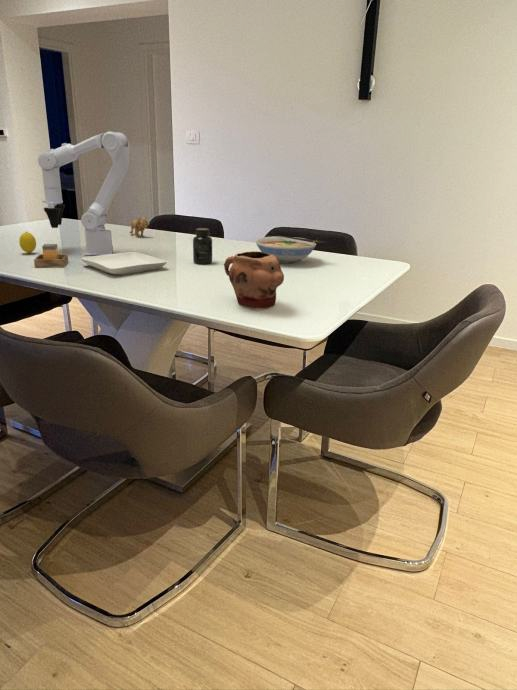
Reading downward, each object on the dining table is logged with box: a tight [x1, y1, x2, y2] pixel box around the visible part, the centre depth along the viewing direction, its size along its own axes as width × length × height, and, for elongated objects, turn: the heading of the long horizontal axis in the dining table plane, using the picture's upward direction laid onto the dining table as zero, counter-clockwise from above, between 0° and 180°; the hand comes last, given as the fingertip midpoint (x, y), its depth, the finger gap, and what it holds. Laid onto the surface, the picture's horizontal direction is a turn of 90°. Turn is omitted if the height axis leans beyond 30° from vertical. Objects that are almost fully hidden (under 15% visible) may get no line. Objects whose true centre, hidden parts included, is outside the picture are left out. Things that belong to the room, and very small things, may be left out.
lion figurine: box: [129, 216, 150, 239], centre depth 229 cm, size 15×5×9 cm, turn 43°
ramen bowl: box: [254, 234, 327, 264], centre depth 191 cm, size 25×23×8 cm
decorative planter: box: [223, 250, 285, 310], centre depth 136 cm, size 20×12×14 cm, turn 55°
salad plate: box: [80, 251, 168, 276], centre depth 172 cm, size 21×21×3 cm
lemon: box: [18, 231, 37, 255], centre depth 186 cm, size 6×6×8 cm
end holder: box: [33, 253, 69, 268], centre depth 173 cm, size 9×9×2 cm
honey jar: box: [41, 243, 59, 259], centre depth 172 cm, size 4×4×6 cm
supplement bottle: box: [192, 227, 213, 266], centre depth 182 cm, size 7×7×12 cm
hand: (56, 226), depth 190 cm, fingers open, 7 cm apart
